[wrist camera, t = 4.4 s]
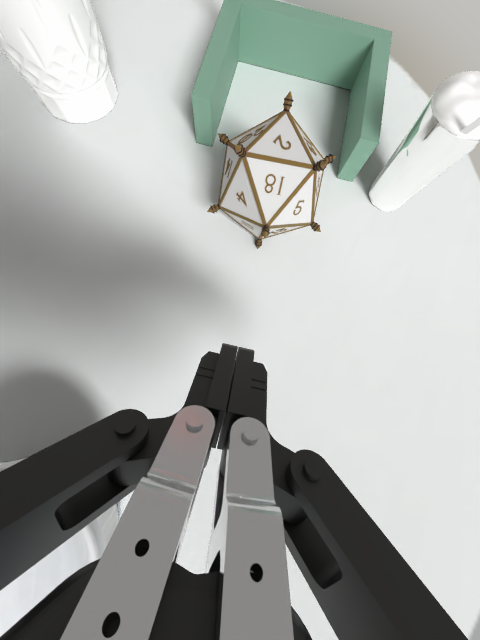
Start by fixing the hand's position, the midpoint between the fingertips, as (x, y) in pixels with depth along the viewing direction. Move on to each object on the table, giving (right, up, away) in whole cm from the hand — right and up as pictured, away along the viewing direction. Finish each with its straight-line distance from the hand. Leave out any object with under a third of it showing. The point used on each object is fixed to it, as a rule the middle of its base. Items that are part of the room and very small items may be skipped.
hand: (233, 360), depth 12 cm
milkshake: (+14, +13, +12) cm, 22 cm away
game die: (+2, +11, +10) cm, 15 cm away
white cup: (-15, +23, +12) cm, 29 cm away
